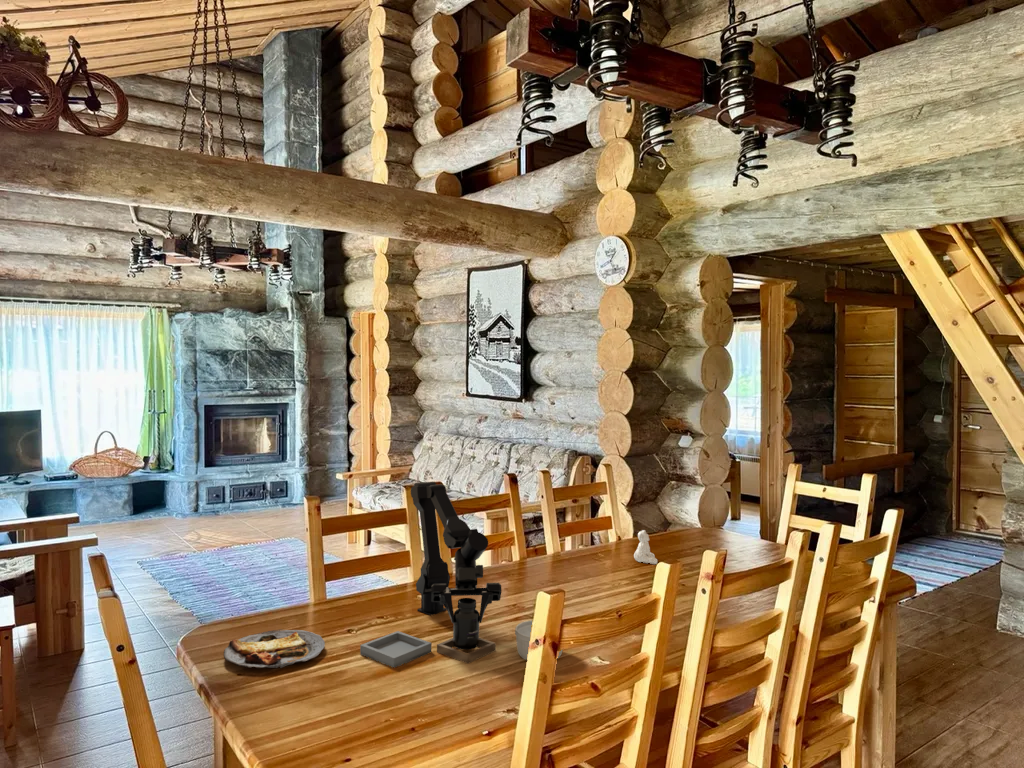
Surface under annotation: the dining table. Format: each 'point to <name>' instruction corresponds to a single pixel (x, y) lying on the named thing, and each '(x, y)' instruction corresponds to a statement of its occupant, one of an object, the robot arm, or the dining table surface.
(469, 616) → the supplement bottle
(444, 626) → the dining table surface
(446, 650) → the walnut collar
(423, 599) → the robot arm
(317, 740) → the dining table surface
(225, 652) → the food plate
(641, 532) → the white creature statuette
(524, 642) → the ramekin
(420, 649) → the grey tray
